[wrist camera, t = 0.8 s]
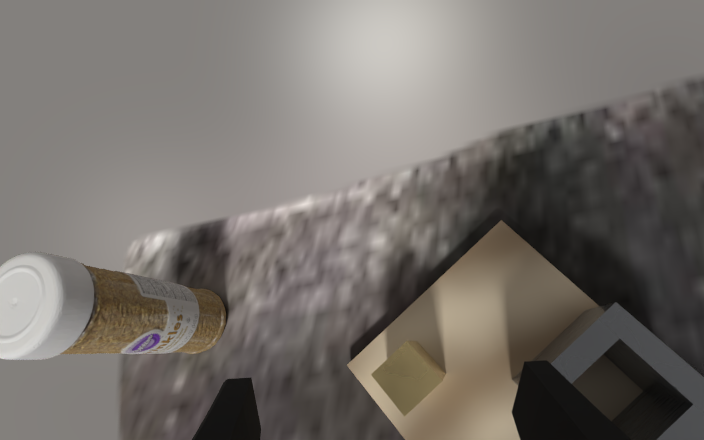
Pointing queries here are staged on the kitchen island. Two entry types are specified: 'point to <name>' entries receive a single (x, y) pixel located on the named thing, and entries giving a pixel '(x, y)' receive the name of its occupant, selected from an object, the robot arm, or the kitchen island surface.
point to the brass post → (408, 376)
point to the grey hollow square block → (634, 373)
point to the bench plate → (488, 342)
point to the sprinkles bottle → (99, 311)
